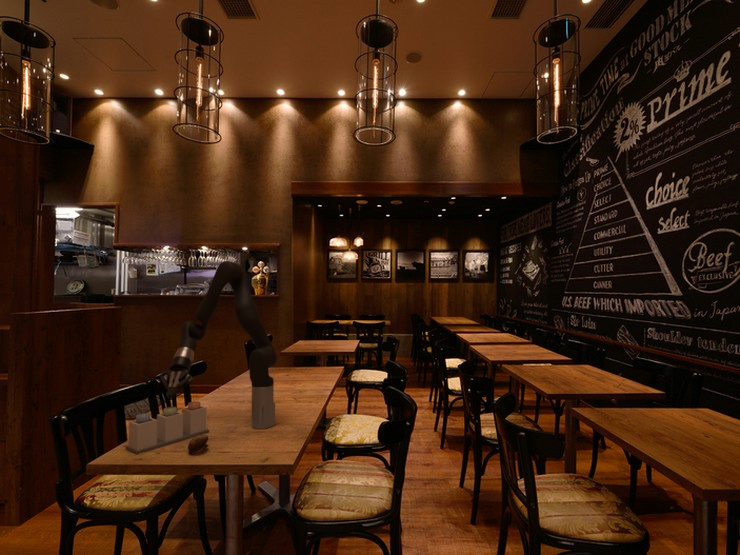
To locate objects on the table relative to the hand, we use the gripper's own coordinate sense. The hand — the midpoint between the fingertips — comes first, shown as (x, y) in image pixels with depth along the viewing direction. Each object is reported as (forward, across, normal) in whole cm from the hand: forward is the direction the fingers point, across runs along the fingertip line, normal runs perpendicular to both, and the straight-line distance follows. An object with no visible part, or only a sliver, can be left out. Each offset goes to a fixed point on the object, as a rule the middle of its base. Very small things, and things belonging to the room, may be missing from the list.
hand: (169, 397), depth 154 cm
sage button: (+5, 0, +6) cm, 7 cm away
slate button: (+10, -6, 0) cm, 12 cm away
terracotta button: (-1, +7, +11) cm, 13 cm away
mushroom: (+21, +15, +3) cm, 26 cm away
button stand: (+11, 0, +12) cm, 17 cm away
